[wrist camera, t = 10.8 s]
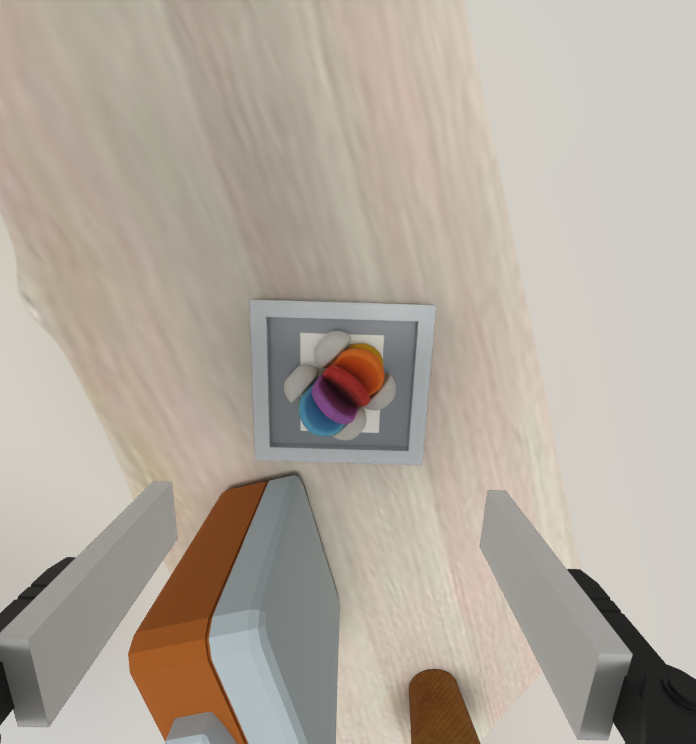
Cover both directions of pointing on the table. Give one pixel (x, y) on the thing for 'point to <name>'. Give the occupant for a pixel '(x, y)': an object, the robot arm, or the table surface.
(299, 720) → the rectangular block
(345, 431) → the rainbow disc rolling toy
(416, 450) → the square gray tray
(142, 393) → the table surface
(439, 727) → the disposable coffee cup
